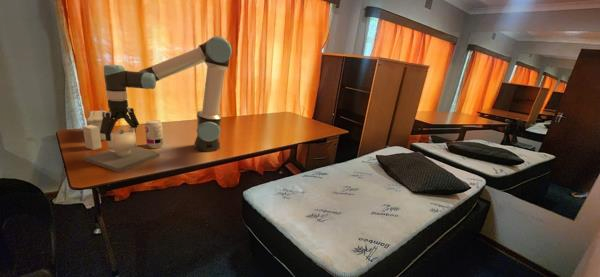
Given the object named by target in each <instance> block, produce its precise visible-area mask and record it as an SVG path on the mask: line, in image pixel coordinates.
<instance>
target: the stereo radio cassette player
mask: <svg viewBox="0 0 600 277" xmlns="http://www.w3.org/2000/svg"><path fill="white" fill-rule="evenodd" d="M99 108H100V110H90V111H89V113H88V116H87V119H86V126H87V125H94V126H97V127H99V132H100V129H101V124H102V120H103V112H107V110H103V109H102V107H101V106H99ZM100 138H101V141H106V138H105V134H102V133H100Z"/></svg>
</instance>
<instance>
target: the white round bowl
mask: <svg viewBox="0 0 600 277" xmlns="http://www.w3.org/2000/svg"><path fill="white" fill-rule="evenodd" d="M111 134H113V141H114V147H109V146H108V148H109V150H110V149H113V150H125V149H130V148H133V147H135V146H137V140H136V133H134V132H131V131H129V130H124V129H119V131H118V130H116V131H113V132H111Z"/></svg>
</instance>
